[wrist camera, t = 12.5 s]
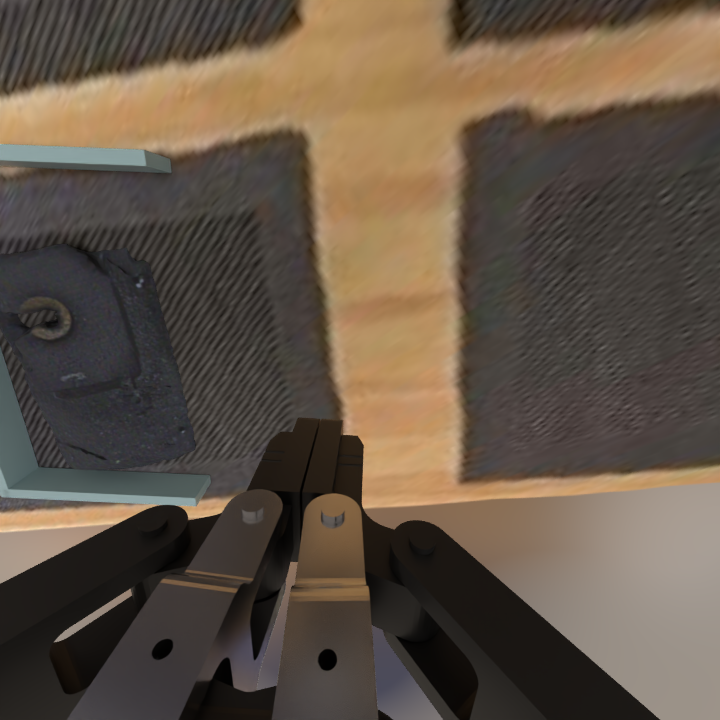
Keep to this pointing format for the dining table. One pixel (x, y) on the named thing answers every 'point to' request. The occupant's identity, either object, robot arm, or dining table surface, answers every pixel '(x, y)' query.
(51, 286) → the black pouch
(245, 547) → the robot arm
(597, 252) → the dining table surface
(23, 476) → the box
